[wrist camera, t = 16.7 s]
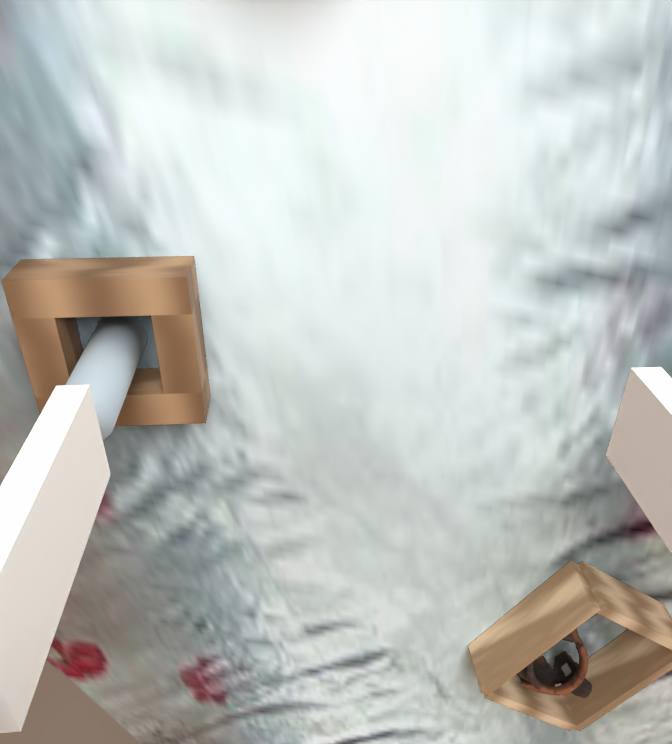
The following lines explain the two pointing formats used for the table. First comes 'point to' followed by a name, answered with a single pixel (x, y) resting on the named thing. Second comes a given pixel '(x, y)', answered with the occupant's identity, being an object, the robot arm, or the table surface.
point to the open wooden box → (554, 622)
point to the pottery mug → (559, 673)
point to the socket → (115, 298)
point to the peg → (110, 365)
